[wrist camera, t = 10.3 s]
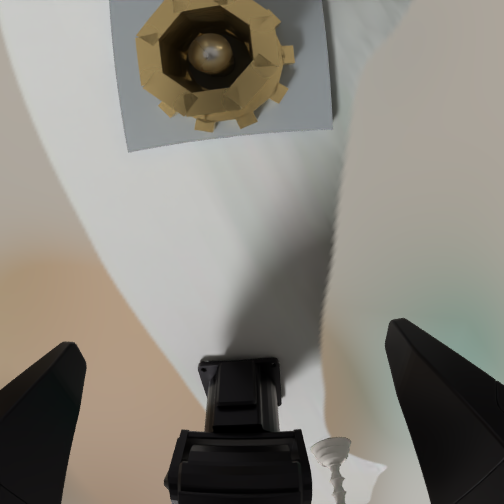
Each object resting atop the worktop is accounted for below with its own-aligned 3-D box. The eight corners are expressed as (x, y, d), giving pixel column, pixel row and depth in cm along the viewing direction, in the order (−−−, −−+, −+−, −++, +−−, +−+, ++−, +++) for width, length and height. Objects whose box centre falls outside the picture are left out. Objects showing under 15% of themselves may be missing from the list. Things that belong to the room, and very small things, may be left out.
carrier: (328, 127, 17) (360, 143, 12) (134, 149, 17) (93, 174, 12) (302, -84, 10) (320, -131, 5) (114, -58, 10) (75, -92, 6)
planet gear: (296, 121, 16) (322, 138, 10) (161, 138, 16) (120, 164, 11) (283, -4, 12) (302, -48, 7) (144, 15, 13) (97, -13, 7)
